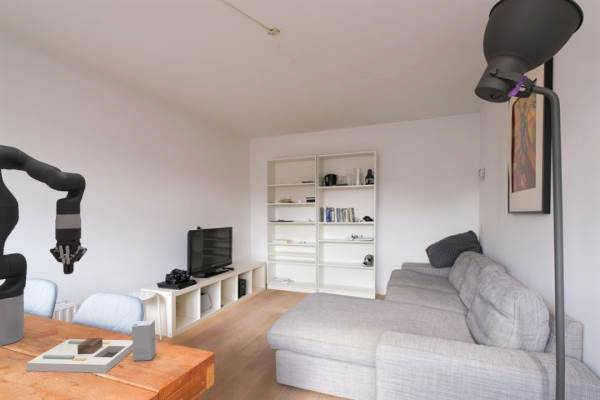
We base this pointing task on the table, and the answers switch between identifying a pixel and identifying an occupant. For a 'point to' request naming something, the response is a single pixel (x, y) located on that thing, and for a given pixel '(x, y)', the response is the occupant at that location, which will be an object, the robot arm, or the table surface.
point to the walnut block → (90, 346)
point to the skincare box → (143, 340)
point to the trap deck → (81, 357)
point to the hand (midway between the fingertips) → (68, 273)
